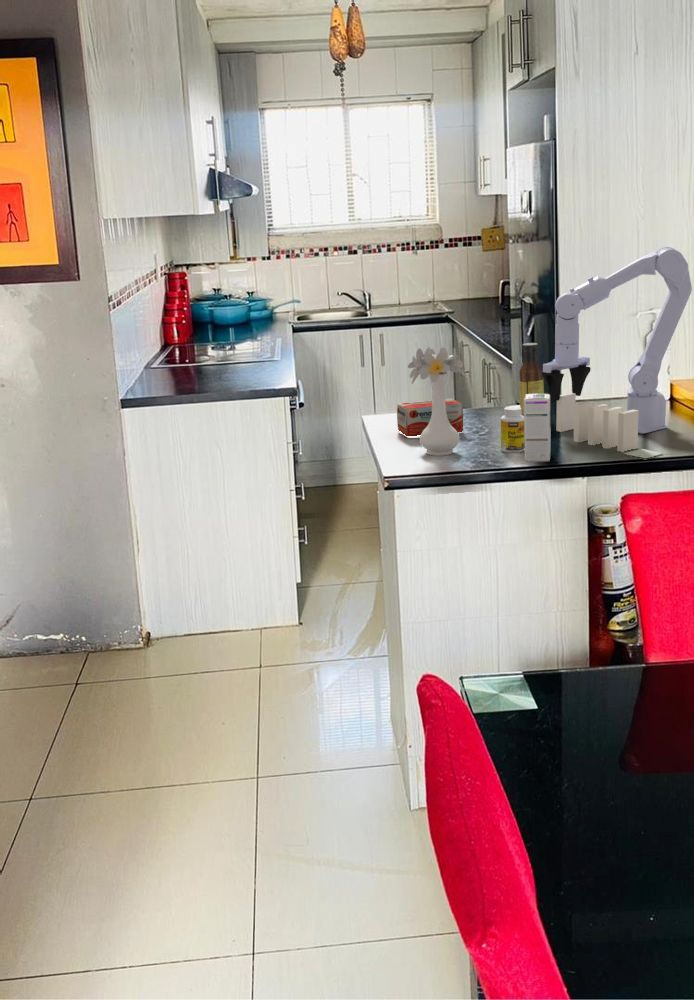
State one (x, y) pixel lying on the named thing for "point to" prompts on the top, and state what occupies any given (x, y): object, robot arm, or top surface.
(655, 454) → the felt pad
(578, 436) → the domino
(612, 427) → the domino
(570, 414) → the domino
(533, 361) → the sauce bottle
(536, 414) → the syrup box
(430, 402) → the medicine box
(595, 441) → the domino
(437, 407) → the flower vase
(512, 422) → the supplement bottle
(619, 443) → the domino
